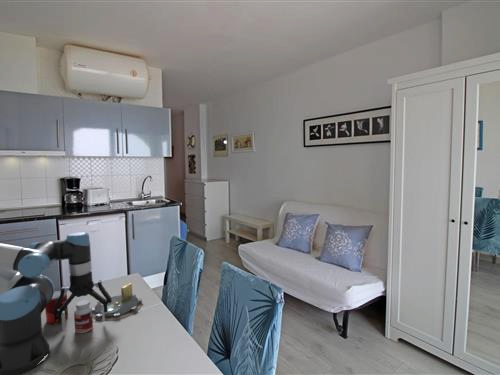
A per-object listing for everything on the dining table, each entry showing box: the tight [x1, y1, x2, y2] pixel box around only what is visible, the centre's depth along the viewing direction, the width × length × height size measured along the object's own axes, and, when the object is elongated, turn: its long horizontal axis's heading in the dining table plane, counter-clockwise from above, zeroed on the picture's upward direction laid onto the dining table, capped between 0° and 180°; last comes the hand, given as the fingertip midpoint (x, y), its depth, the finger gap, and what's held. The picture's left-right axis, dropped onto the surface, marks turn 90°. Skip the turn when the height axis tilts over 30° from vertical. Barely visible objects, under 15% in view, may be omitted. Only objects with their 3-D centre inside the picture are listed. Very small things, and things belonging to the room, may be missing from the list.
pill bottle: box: [73, 299, 94, 334], centre depth 114 cm, size 6×6×11 cm
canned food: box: [44, 290, 69, 325], centre depth 121 cm, size 8×8×11 cm
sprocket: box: [92, 282, 143, 319], centre depth 130 cm, size 21×21×8 cm
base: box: [92, 302, 143, 322], centre depth 131 cm, size 21×21×1 cm
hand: (84, 324), depth 114 cm, fingers open, 13 cm apart
